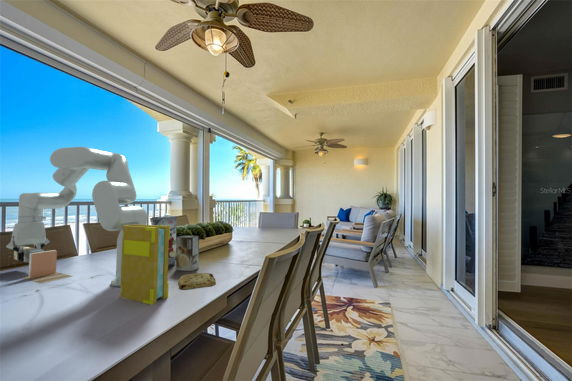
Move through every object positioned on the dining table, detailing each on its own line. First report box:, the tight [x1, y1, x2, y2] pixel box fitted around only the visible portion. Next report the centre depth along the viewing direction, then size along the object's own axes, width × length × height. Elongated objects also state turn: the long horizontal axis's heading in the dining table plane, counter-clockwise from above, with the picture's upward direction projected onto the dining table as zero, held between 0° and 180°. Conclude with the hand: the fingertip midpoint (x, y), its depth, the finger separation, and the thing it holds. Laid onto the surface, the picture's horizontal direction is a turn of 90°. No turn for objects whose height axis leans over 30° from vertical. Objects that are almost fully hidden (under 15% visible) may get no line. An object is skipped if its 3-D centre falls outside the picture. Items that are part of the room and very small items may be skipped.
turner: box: [13, 246, 45, 264], centre depth 108 cm, size 18×4×5 cm, turn 65°
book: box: [119, 224, 170, 306], centre depth 84 cm, size 17×7×25 cm, turn 71°
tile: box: [28, 249, 58, 278], centre depth 102 cm, size 2×8×10 cm, turn 155°
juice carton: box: [151, 213, 178, 268], centre depth 123 cm, size 9×10×27 cm
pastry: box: [178, 272, 217, 290], centre depth 99 cm, size 17×17×3 cm
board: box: [21, 271, 73, 284], centre depth 100 cm, size 18×10×2 cm, turn 65°
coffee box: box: [175, 235, 200, 272], centre depth 118 cm, size 9×6×16 cm
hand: (28, 259), depth 108 cm, fingers closed on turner, 4 cm apart
